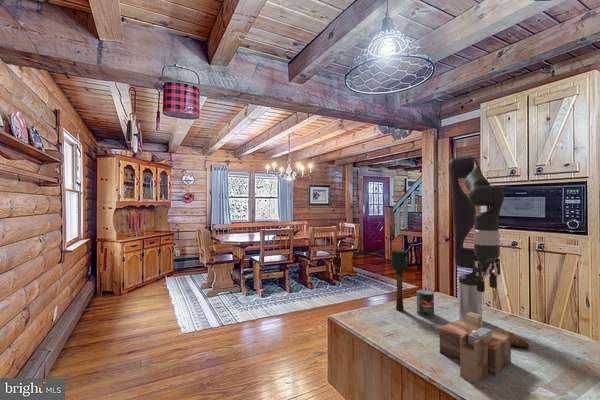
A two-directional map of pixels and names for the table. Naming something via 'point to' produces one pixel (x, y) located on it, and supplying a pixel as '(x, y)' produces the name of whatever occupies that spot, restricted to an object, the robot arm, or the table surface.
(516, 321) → the table surface
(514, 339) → the croissant
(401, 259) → the stick grenade
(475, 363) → the toolbox
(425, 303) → the canned tomato
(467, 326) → the lid
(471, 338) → the drawer
